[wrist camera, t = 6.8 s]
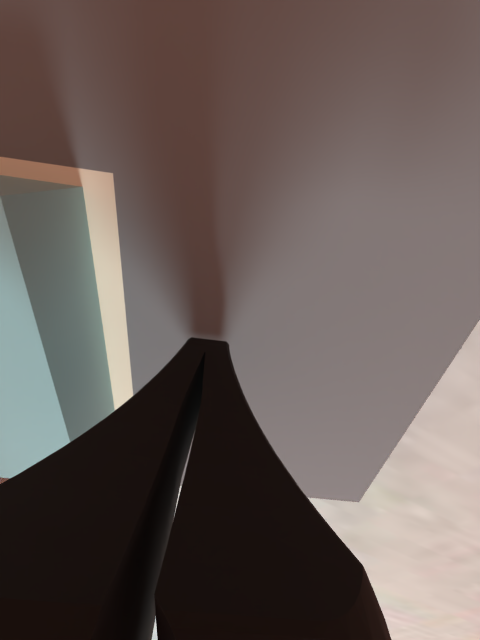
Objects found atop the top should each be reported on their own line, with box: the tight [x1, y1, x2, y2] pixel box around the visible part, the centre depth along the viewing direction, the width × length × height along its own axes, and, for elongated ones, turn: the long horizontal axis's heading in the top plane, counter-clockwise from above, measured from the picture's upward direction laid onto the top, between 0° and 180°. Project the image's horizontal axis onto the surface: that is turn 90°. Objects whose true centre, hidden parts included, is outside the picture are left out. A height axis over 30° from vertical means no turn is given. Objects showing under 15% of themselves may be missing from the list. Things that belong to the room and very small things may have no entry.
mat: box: [0, 0, 480, 502], centre depth 10 cm, size 20×26×1 cm
